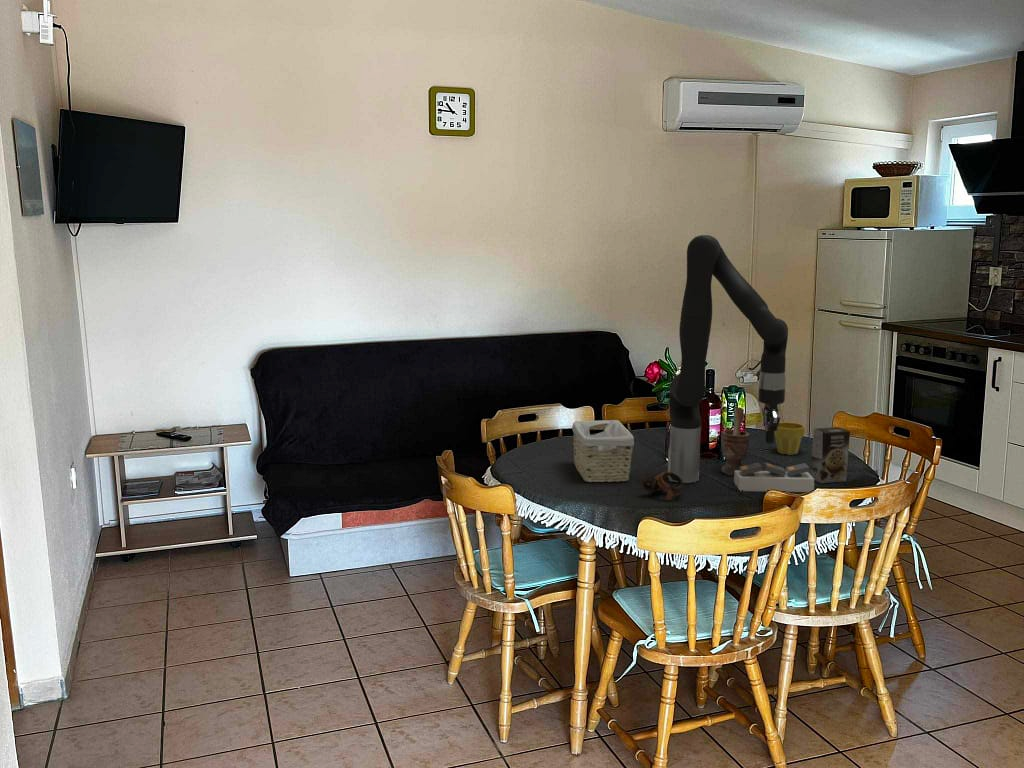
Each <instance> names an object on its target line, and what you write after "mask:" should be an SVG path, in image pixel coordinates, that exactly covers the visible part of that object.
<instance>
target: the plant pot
mask: <svg viewBox="0 0 1024 768" xmlns="http://www.w3.org/2000/svg"><path fill="white" fill-rule="evenodd" d="M805 427H806V426H805V425H804V424H802V423H799V422H792V421H779V425H778V428H777V431H774V440H775V442H776V443H775V444H776V450H777V453H778V452H779V454H780V453H781V454H780V455H784V454H787V455H786V456H795V455H797V454H798V453H799V449H800V445H801V442H802V440H803V439H802V438H803V437H804V435H805ZM794 454H795V455H794Z"/></svg>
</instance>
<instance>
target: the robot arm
mask: <svg viewBox="0 0 1024 768" xmlns="http://www.w3.org/2000/svg"><path fill="white" fill-rule="evenodd" d="M713 277H714V278H715V279H716V280H717V281H718V282H719V284H720V285H721V286H722V288H723V289H724V291H725V293H726V294H727V295H728V297H729V298H730V300H731V301H732V303H733V304H734V306H736V307H737V308H738V310H739V311H740V312H741V314H743V315H744V317H745V318H746V319H748V321H749V322H750V324H751V325H752V327H753V329H754V330H755V331H756V333H757V334H758V335H759V337H760V338H761V339H762V340H763V350H762V354H761V358H760V371H759V379H758V382H759V383H758V397H757V398H758V402H759V403H760V404H761V403H762V404H764V406H763V407H762V408H761V412H762V420H763V421H762V422H763V424H762V425H763V427H764V430H765V437H764V439H765V440H764V441H765V443H766V444H774V442H775V435H774V431H777V428H778V425H779V422H781V421H780V420H781V418H780V416H779V415H780V409H778V405H781V404H783V403H785V400H786V363H787V362H786V353H787V344H788V337H789V327H788V324H787V323H786V322H785V321H784V320H783V319H781V318H777V317H776V316H775V315H774V314H773V312H772V311H770V309H769V306H768V304H767V302H766V301H765V300H764V299H763V297H762V296H761V295H760V294H759V293H758V292H757V291H756V290H755V288H754V287H753V286H752V285H751V284H750V283H749V282H748V281H747V280H746V279H745V277H743V275H741V273H740V272H739V271H738V270H737V269H736V267H735V266H734V265H733V263H732V262H731V260H730V259H729V258H728V256H727V254H726V253H725V251H724V249H723V248H722V246H721V244H720V241H719V240H718V239H717V238H715V237H714V236H712V235H709V234H702V235H697V236H695V237H694V238H692V239H691V240H690V241H689V243H688V245H687V249H686V283H685V288H684V293H683V299H682V305H681V311H680V320H679V329H678V330H679V344H680V354H681V363H680V370H679V373H678V374H677V375H675V376H674V377H673V379H672V380H671V383H670V387H669V404H668V405H669V408H668V409H669V416H670V417H669V418H670V427H669V428H670V429H669V430H670V431H669V434H670V435H669V446H668V450H667V451H668V453H667V454H668V455H667V456H668V457H667V461H668V462H667V472H672V473H674V474H676V475H678V476H679V477H680V478H681V479H682V481H683V484H692V482H693V483H696V481H697V482H699V479H700V478H699V477H700V456H701V455H700V454H701V436H702V435H701V432H702V417H701V414H700V413H701V412H700V403H701V402H702V401H703V398H704V397H705V393H706V363H707V354H708V349H709V343H710V342H709V341H710V335H711V329H712V328H711V327H712V321H713V319H712V318H713V298H712V297H713V296H712V282H713V281H712V280H713ZM667 478H668V481H669V482H674V483H678V481H675V480H672V478H671V477H670V476H668V477H667Z"/></svg>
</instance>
